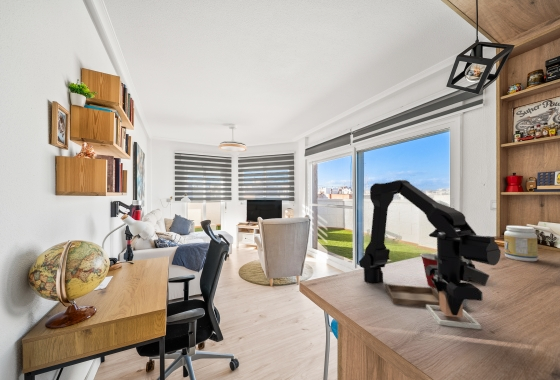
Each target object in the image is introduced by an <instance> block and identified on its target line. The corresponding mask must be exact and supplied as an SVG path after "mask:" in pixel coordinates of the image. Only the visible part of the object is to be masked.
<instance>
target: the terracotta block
mask: <svg viewBox="0 0 560 380" xmlns="http://www.w3.org/2000/svg"><path fill="white" fill-rule="evenodd" d="M439 306H440V309H441V310H440V311H441V312H442V313H443V314H444V316H447V317H457V318H464V315H463V310H464V307H463V302H462V305H461V307H460V309H459V312H458V314H457V315H452V313H451V311H450V308H449V306H448V303H447V300H446V298H445V295H444V292H443V291H439Z"/></svg>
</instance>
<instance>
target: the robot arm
mask: <svg viewBox="0 0 560 380" xmlns="http://www.w3.org/2000/svg"><path fill="white" fill-rule="evenodd" d="M398 194H400V196H402V197H404V198H405V199H406V200H407V201H409V202H410V203H411V204H412V205H414V206H415V207H417V208H418V209H419V210H420V211H422V212H423V214H424V215H425V216H426V220H427V222H429V223H430V224H431V226H433V227H434V230H433V231H432V232H430V234H428V236H429V237H431V238H436V254H437V256H435V260H436V261H437V265H428V266H427V267H426V274H427V275H428V276H431V275H432V274H434V278H431V281H432V282H433V284H434V286H435V288H434V289H435V290H436V291H437V292H438V294H439V291H443V292H444V295H445V298H446V300H447V303H448V306H449V308H450V311H451V313H452V315H457V314H458V312H459V309H460V307H461V305H462V302H463V301H464V299H466V301H467V300H469V301H479V302H480V301H483V298H484V297H483V295H484V294H483V291H482V290H480V288H478V287H477V286H476V285H474V284H473V283H471V282H469V281H472V282H475V283H478V284H480V285H481V286H483V287H486V285H487V283H488V281H489V278H490V274H488V273H485V272H484V271H483V270H481V269H480V270H479V269H478V268H476V266H475V264H474V263H473V262H476V263H481V264H485V265H489V266H496V265H497V264H498V263H499V262H500V259H501V254H502V253H501V249H500V246H499V245H498V243H497V242H496V239H495V238H496V237H495V236H491V235H478V234H477V233H476V231H474V229H473V228H472V227H471V226H470V224H469V223H468V222H467V220H466V216H465V214H464V213H463V212H461V211H459V210H457V209H455V208H453V207H450V206H448V205H445V204H442V203H439V202H437V201H436V200H435V199H433V198H432V197H430V196H429V195H427V194H426V193H425V192H423V191H422V190H420V189H418V188H417V187H416V186H414V185H413V184H412V183H411V182H410V181H409V180H407V179H405V180H404V179H396V180H394V181H393V180H392V181H389V182H375V183H373V184H372V185H371V186H370V189H369V195H370V201H371V202H372V205H373V213H372V222H371V233H370V241H369V243H368V244H367V246H366V247H365V250H364V254H363V257H361V259H360V260H359V261H358V264H359V267H360V268H363V282H365V283H370V284H382V283H384V273H383V271H382V268H385V267H386V264H387V262H388V260H390V248H387V246H386V244H385V241H386V240H385V238H386V230H387V228H386V227H387V220H388V219H387V218H388V212H389V209H388V208H389V206H390V205H391V203H392V202H393V200H394V197H395V195H398ZM462 256H463V257H464V258H465V259H467V260H471V261H472V263H473V264H472V263H470V262H467V261H463V260H462ZM475 268H476V269H475ZM426 274H425V275H426ZM462 281H463V282H462Z"/></svg>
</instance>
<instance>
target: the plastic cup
mask: <svg viewBox="0 0 560 380" xmlns="http://www.w3.org/2000/svg"><path fill="white" fill-rule="evenodd" d="M435 256H437V253H420V257H421V260H422V263H423V268H424V273H425V278H426V282H427V285H428V287H430V288H434V289H436V288H435V286H434V284H433V282H432V281H431V278H434V274H432V275H431V276H428V275H427V274H426V267H427V266H428V265H437V261H436V260H435Z"/></svg>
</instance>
